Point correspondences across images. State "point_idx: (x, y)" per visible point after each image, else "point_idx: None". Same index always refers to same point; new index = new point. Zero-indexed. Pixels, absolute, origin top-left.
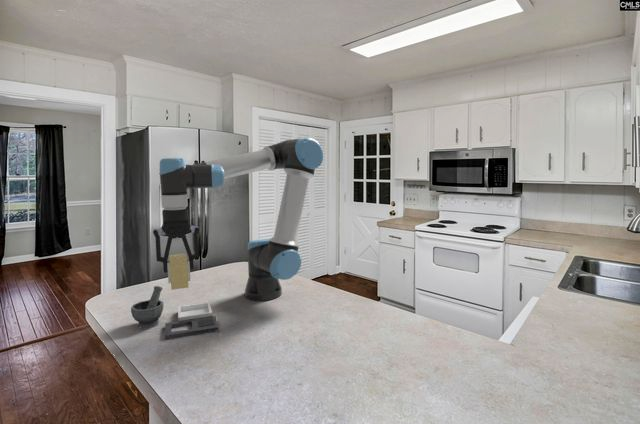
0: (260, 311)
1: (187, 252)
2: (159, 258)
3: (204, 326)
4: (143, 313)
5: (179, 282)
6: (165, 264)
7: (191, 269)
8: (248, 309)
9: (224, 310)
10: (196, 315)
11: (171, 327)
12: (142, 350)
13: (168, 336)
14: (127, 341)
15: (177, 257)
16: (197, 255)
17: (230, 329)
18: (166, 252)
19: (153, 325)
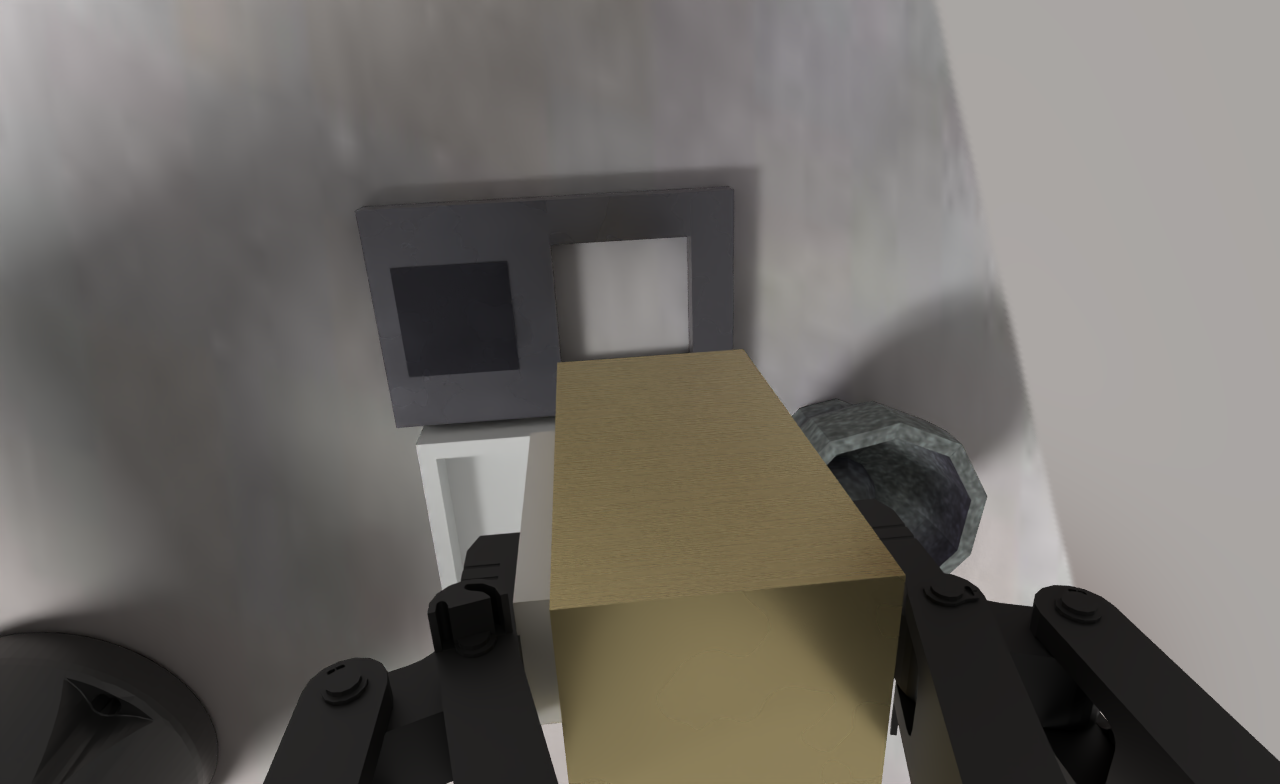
0: (62, 453)
1: (532, 747)
2: (1077, 625)
3: (463, 257)
4: (898, 415)
5: (662, 382)
6: (909, 574)
7: (502, 537)
8: (166, 512)
9: (348, 539)
10: (528, 434)
11: (691, 326)
12: (861, 64)
13: (707, 189)
14: (945, 242)
15: (744, 592)
16: (328, 691)
17: (273, 199)
18: (1007, 732)
19: (801, 414)
